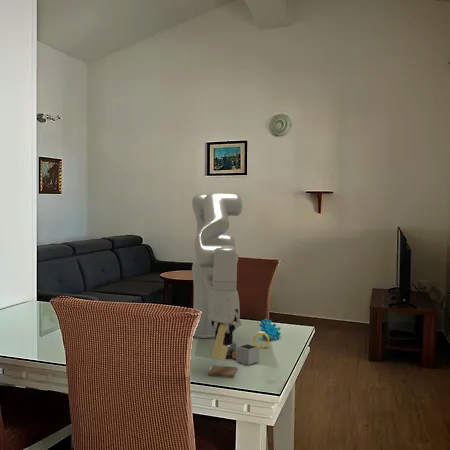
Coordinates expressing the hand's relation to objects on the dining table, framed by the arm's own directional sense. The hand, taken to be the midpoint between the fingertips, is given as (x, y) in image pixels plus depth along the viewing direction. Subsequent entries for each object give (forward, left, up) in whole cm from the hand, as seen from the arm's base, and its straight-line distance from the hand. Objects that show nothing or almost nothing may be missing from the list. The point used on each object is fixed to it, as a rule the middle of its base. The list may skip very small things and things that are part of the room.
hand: (223, 343), depth 155 cm
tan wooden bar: (-1, -2, -5) cm, 5 cm away
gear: (+11, +46, -10) cm, 49 cm away
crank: (+2, +16, -9) cm, 18 cm away
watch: (+9, +32, -10) cm, 35 cm away
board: (0, 0, -10) cm, 10 cm away
